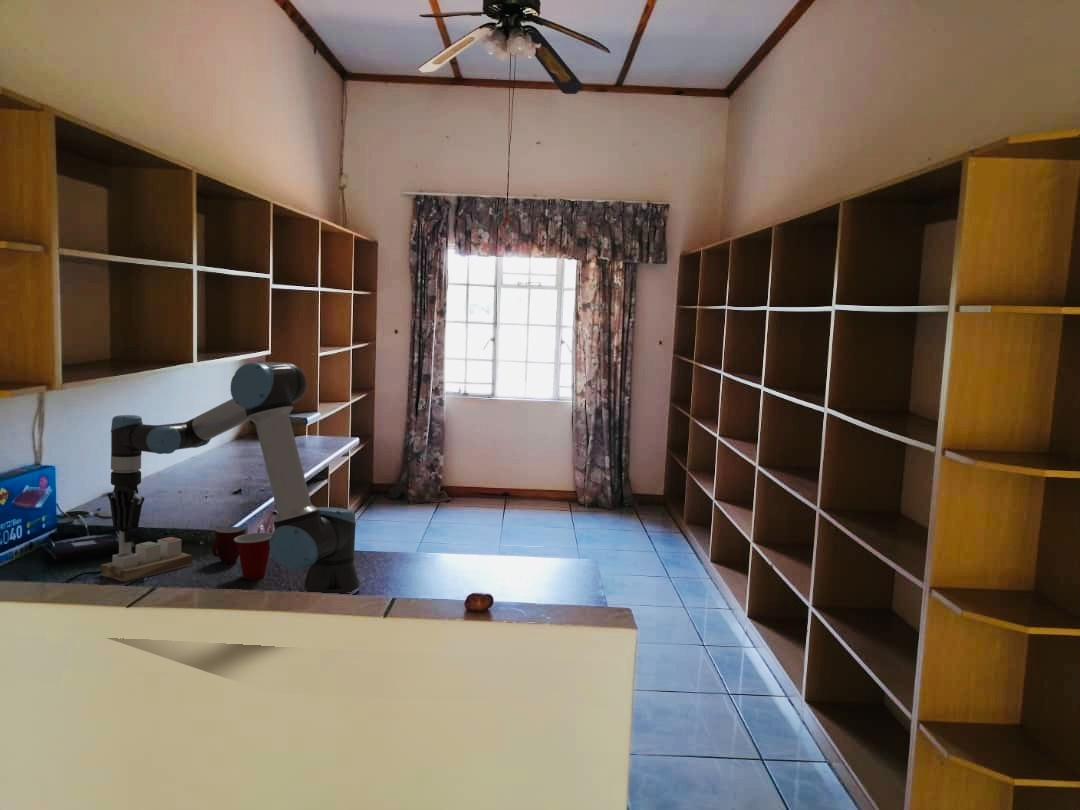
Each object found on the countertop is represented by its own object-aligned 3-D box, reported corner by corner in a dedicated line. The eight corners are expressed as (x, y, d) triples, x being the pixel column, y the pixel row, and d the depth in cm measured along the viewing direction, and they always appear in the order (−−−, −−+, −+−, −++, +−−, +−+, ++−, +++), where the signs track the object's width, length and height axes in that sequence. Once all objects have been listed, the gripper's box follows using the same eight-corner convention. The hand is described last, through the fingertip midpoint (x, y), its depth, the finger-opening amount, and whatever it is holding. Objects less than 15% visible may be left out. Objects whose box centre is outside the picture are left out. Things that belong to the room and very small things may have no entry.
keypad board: (191, 564, 230) (191, 555, 230) (126, 582, 211) (126, 571, 211) (167, 558, 235) (167, 549, 235) (101, 575, 216) (101, 564, 216)
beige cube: (181, 555, 230) (181, 538, 230) (167, 559, 226) (167, 541, 226) (171, 553, 232) (171, 536, 232) (157, 556, 228) (157, 539, 228)
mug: (227, 568, 228) (227, 535, 227) (203, 565, 229) (204, 533, 229) (248, 559, 238) (249, 528, 237) (225, 557, 240) (226, 525, 239)
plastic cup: (240, 570, 226) (240, 530, 226) (277, 571, 227) (278, 531, 226) (227, 581, 216) (228, 539, 215) (266, 582, 216) (267, 540, 216)
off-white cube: (138, 571, 218) (138, 553, 217) (122, 575, 214) (122, 557, 213) (127, 569, 220) (127, 551, 219) (112, 572, 216) (112, 554, 215)
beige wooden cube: (160, 561, 224) (160, 543, 223) (145, 564, 220) (146, 546, 219) (149, 558, 226) (150, 540, 225) (135, 561, 222) (135, 543, 221)
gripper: (153, 471, 215) (152, 554, 217) (123, 466, 221) (122, 546, 223) (128, 474, 208) (127, 559, 210) (98, 469, 214) (97, 552, 216)
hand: (125, 553), depth 216 cm, fingers closed
